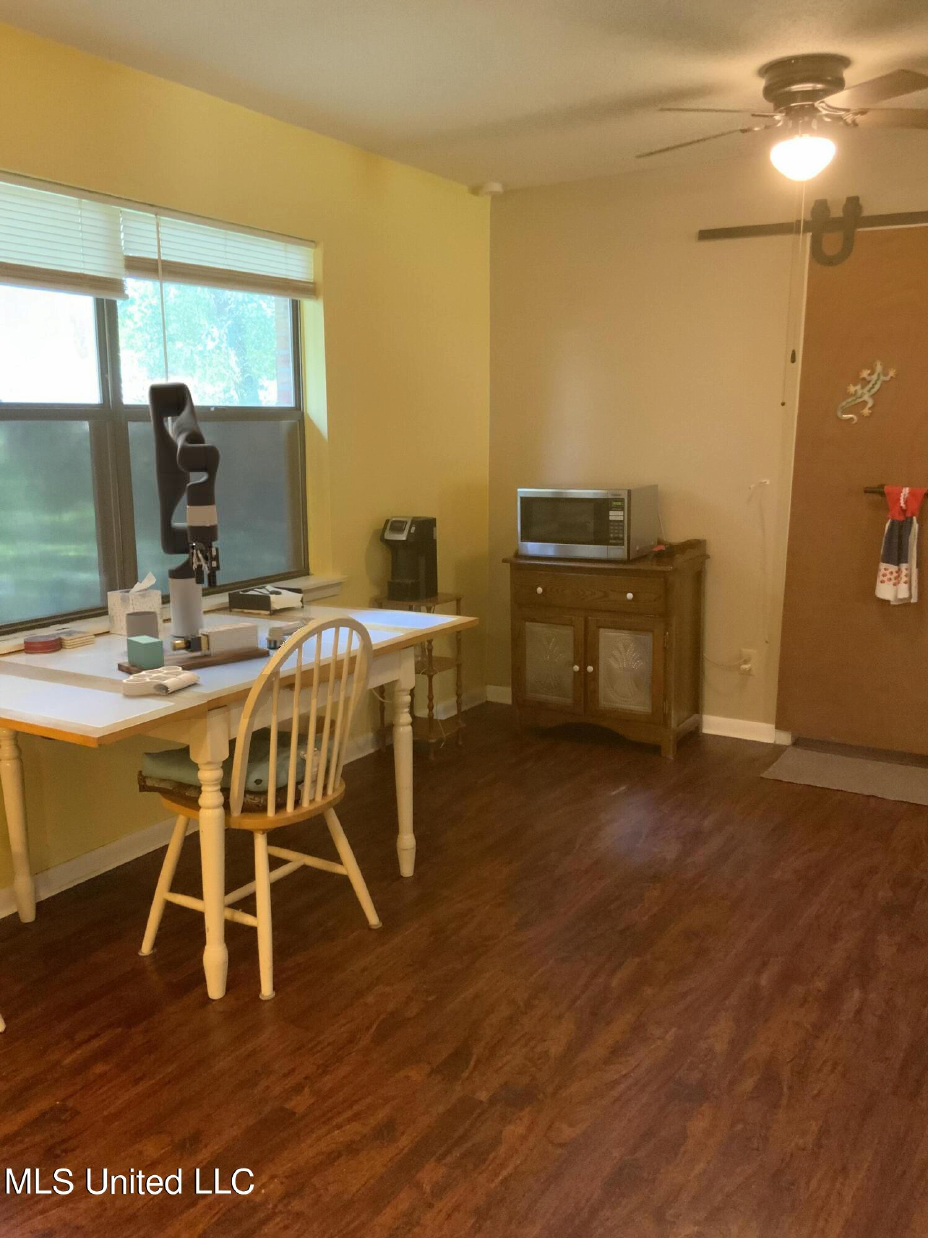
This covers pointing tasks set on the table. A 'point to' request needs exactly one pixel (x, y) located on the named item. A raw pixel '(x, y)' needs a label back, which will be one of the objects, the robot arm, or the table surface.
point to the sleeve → (230, 638)
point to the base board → (198, 660)
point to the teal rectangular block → (145, 652)
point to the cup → (142, 624)
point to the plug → (191, 643)
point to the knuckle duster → (159, 681)
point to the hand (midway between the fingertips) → (206, 585)
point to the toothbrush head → (282, 632)
